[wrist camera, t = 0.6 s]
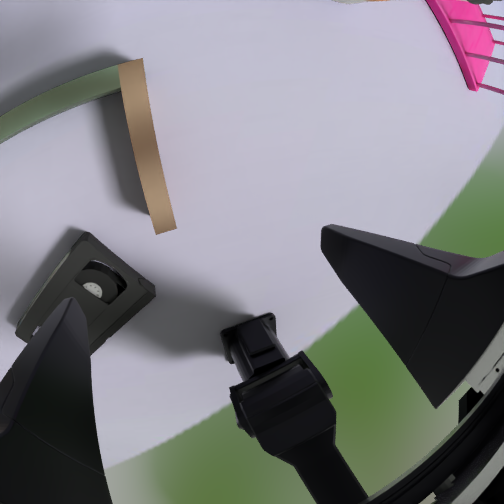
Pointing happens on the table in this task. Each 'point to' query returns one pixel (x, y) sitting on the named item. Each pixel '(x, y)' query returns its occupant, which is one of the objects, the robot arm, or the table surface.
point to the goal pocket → (138, 119)
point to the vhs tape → (90, 292)
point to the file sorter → (469, 38)
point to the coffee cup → (352, 0)
